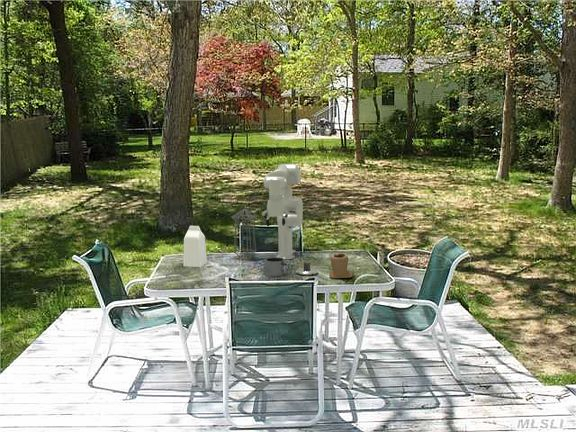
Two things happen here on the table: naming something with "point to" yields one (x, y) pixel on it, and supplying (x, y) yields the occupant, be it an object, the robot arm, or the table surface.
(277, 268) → the pot
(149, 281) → the table surface
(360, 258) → the table surface
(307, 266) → the lid
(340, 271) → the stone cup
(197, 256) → the milk
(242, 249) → the geometric lantern
